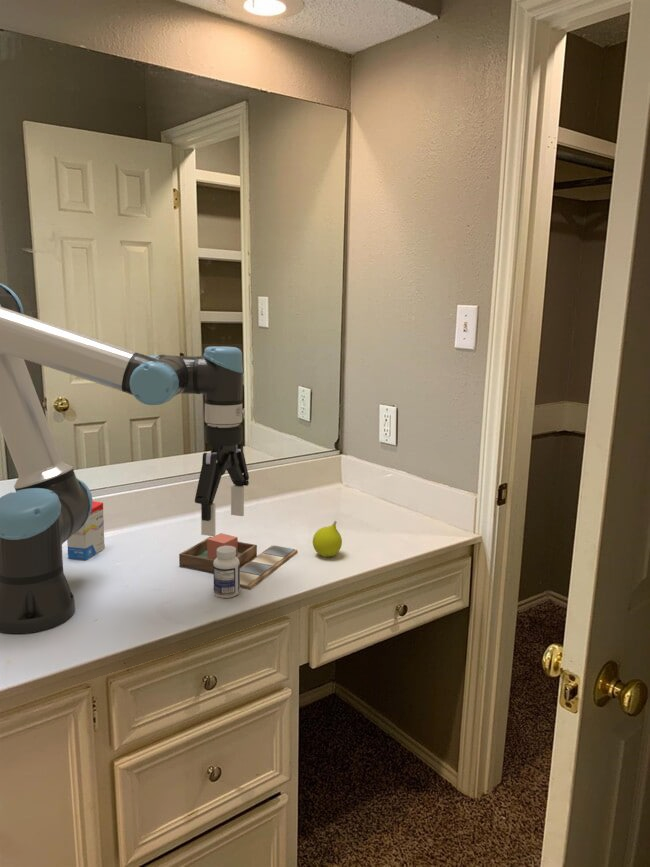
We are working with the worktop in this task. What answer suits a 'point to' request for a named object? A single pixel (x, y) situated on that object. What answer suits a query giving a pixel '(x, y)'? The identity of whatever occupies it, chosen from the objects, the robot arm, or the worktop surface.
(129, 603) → the worktop surface
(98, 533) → the ink box
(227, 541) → the salmon red cube
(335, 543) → the green gourd
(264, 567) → the board
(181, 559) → the dice tray
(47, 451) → the robot arm
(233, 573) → the pill bottle
